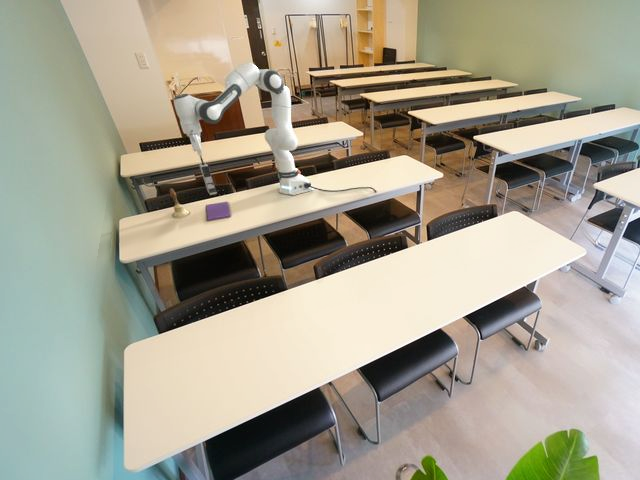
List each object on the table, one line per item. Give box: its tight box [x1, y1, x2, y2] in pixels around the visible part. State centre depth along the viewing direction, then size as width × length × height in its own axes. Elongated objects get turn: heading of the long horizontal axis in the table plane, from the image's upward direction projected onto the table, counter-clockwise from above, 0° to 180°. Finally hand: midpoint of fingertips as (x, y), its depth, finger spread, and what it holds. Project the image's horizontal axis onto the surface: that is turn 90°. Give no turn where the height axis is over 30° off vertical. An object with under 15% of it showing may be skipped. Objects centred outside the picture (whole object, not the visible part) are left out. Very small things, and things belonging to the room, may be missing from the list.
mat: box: [206, 201, 231, 221], centre depth 206 cm, size 12×22×1 cm, turn 27°
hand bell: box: [169, 188, 190, 218], centre depth 198 cm, size 8×8×16 cm
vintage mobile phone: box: [198, 156, 218, 196], centre depth 192 cm, size 4×5×25 cm
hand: (200, 155), depth 187 cm, fingers closed on vintage mobile phone
